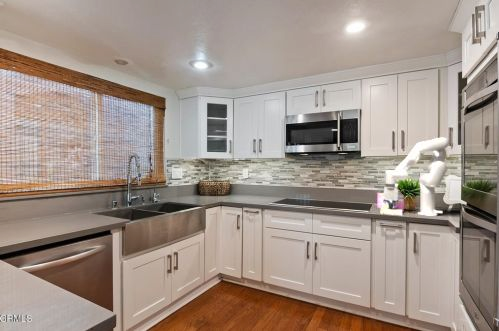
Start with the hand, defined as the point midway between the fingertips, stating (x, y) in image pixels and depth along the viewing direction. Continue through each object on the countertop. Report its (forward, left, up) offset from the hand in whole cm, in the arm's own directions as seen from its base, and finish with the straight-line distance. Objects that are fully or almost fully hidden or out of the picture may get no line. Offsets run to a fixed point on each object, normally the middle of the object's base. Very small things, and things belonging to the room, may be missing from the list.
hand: (390, 208), depth 212 cm
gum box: (+2, -21, -4) cm, 21 cm away
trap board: (0, -3, -4) cm, 5 cm away
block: (+4, 0, -1) cm, 4 cm away
